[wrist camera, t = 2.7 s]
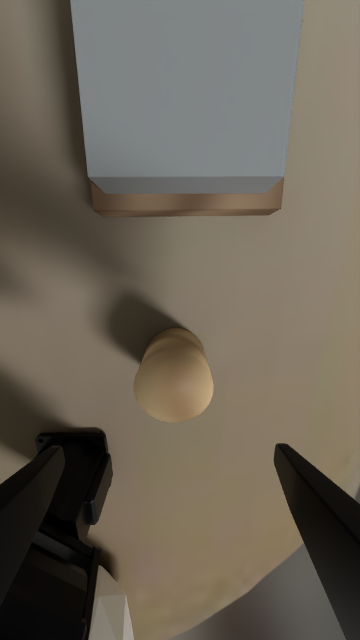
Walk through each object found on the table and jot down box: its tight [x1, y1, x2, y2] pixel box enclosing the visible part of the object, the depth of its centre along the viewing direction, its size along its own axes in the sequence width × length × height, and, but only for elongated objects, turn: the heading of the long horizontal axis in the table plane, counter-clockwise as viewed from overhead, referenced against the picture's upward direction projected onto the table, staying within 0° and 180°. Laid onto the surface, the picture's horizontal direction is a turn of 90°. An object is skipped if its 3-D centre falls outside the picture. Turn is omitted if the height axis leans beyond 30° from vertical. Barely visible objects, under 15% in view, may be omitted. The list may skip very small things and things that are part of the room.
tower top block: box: [70, 0, 304, 194], centre depth 10 cm, size 10×10×2 cm
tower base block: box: [90, 177, 284, 217], centre depth 13 cm, size 12×12×2 cm
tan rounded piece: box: [134, 328, 213, 422], centre depth 15 cm, size 5×5×5 cm
